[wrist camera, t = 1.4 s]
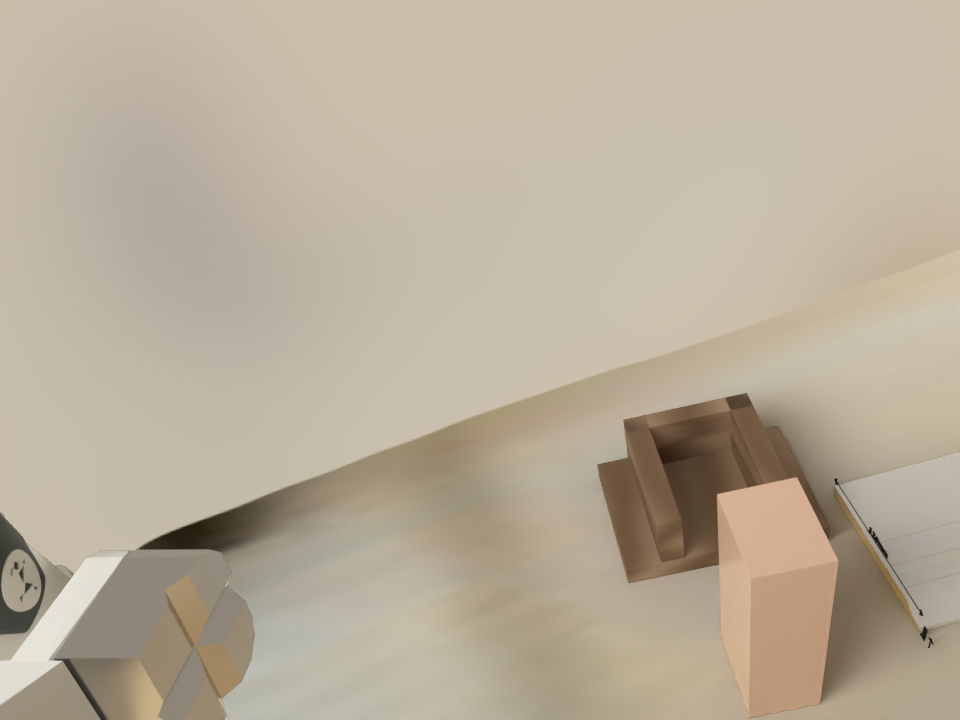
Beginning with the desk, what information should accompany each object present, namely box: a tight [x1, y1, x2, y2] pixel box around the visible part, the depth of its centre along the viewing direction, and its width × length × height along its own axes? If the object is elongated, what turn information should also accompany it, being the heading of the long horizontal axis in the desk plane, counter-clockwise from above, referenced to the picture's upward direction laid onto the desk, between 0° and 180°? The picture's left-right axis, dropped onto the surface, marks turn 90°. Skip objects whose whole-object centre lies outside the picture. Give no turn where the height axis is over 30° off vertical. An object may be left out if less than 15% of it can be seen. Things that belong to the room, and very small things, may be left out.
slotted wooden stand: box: [598, 393, 830, 583], centre depth 58 cm, size 13×9×6 cm
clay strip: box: [717, 477, 839, 718], centre depth 46 cm, size 4×5×14 cm
